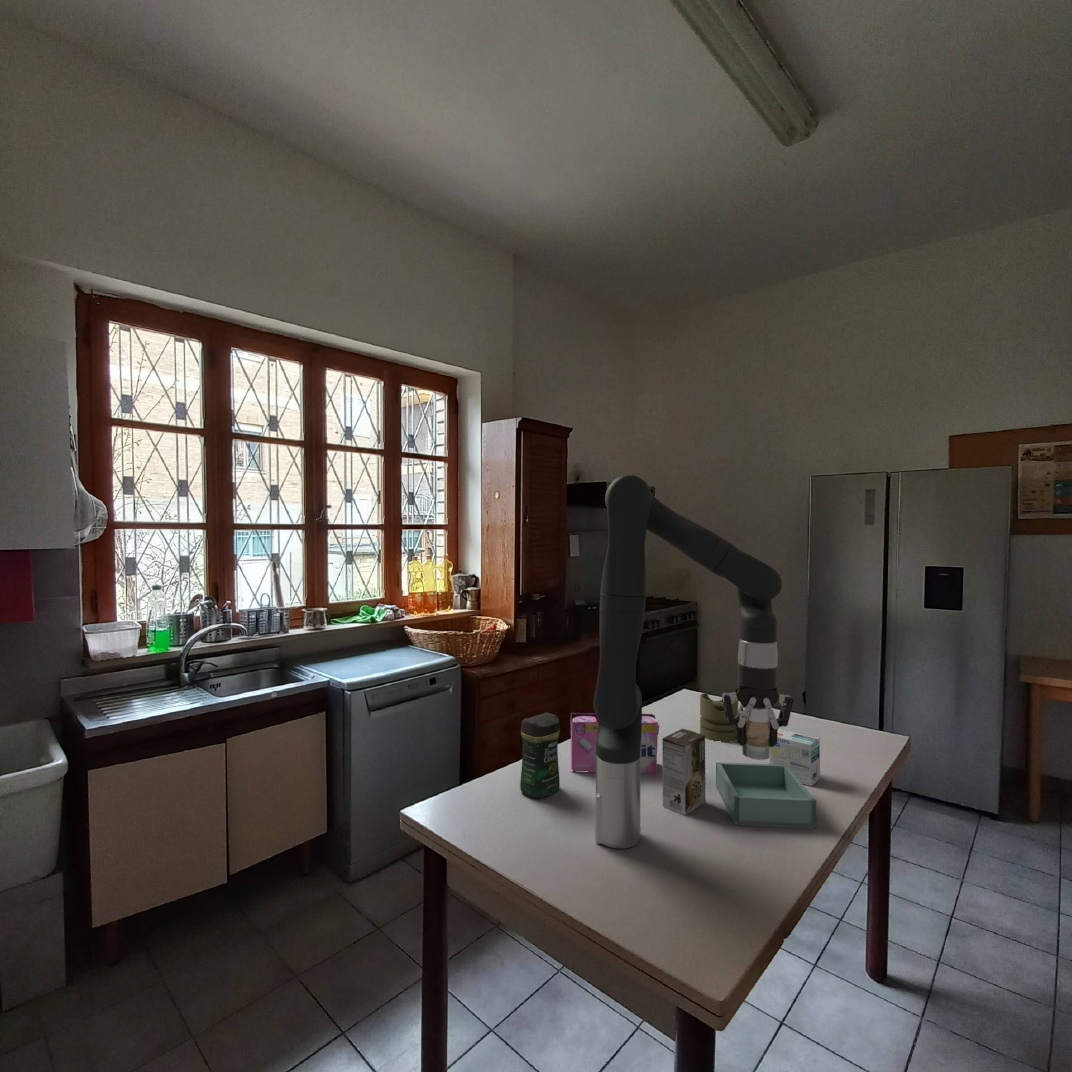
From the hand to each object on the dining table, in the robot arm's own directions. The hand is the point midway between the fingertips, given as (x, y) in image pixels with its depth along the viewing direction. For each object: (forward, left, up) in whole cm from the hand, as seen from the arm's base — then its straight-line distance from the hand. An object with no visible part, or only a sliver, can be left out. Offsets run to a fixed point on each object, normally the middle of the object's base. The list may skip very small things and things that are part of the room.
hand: (756, 744), depth 119 cm
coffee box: (-12, +16, -21) cm, 29 cm away
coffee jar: (-46, +20, -21) cm, 54 cm away
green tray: (+6, +17, -20) cm, 27 cm away
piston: (+6, +63, -21) cm, 67 cm away
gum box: (-28, +36, -21) cm, 50 cm away
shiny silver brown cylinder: (0, 0, -2) cm, 2 cm away
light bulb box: (+19, +34, -21) cm, 44 cm away
